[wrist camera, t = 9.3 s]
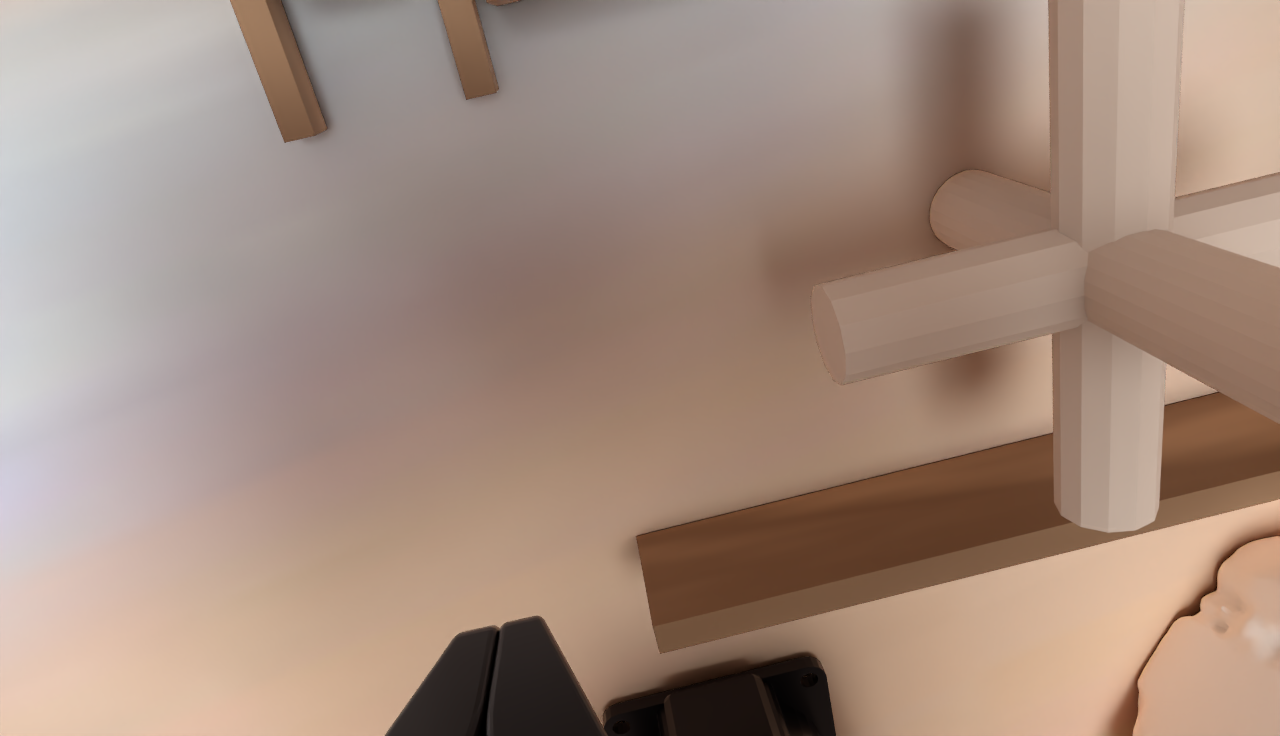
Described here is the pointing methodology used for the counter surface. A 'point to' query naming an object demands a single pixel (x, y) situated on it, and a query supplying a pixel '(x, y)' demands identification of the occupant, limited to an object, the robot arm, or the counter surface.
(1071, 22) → the pipe connector
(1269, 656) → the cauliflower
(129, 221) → the counter surface
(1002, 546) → the dock cradle
